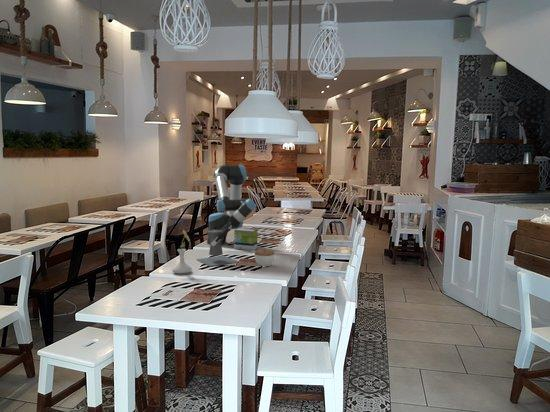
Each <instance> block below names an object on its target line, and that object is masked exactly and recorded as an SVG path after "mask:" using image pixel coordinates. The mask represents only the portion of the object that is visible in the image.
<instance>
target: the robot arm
mask: <svg viewBox="0 0 550 412" xmlns="http://www.w3.org/2000/svg"><path fill="white" fill-rule="evenodd" d="M212 178H213V181H214V183H215V185H216V191H217V198H218V199H217V200H216V210H217V211H218V212H215V213H212V214H209V216H208V232H209V231H211V230H215V229H214V227H217V228H216V230H223V231H222V233H221V234H220V235H217V237H216V238H215V239H214V240H213V241H212V243H211V242H210V238H209V236H208V235H207V239H206V244H207V243H208V245H210V244H211V245H213V246H215V245H216V244H217V243H218V242H219V241H220V240H221V239H222V240H221V245H224V244H227V239H226V240H225V242H222V241H223V240H224V236H225V235H226V234H227V235H228V233H229V232H230V231H232V230H236V229H238V228H243V225H244V221H246V218H247V217H248V216H249V215H250V214H251V213H252V212H253V211H254V210H255V209H256V208H257V203H255V202H254V201H253V200H252V199H251V198H247V199H246V198H242V186H243V185H244V184H245V181H247V179H248V177H247V169H246V166H245V165H243V164H223V165H220V166H219V167H217V168H216V169H215V171H214V172H213V177H212ZM227 183H228V184H230V185H229V186H230V187H228V184H227ZM224 212H226V214H225V213H224Z"/></svg>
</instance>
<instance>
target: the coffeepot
mask: <svg viewBox="0 0 550 412" xmlns="http://www.w3.org/2000/svg"><path fill="white" fill-rule="evenodd" d="M216 228H217V227H214V229H215V230H211V231H209V230H208V231H207V232H205V233H206V234H207V237H208V236H209V238H210V242H211V243H212V241H213V240H214V239H215V238H216V237H217V235H220V234H221V233H222V231H223V230H216ZM227 237H228V233H227V234H226V235H225V236H224V240H223V241H222V242H225V240H226V241H227ZM221 240H222V239H221ZM221 240H220V241H219V242H218V243H217V244H216V245H215V246H213V245H211V244H209V245H210V246H209V250H208V251H209V252H208V255H209V256H212V257H216V256H223V255H224V253H223V248H222V244H221Z"/></svg>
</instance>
